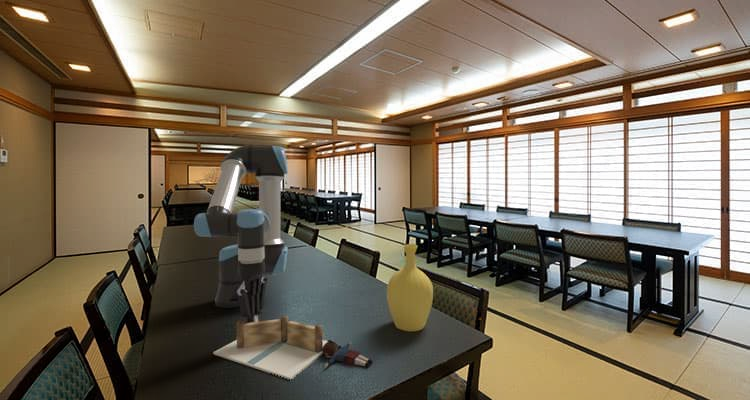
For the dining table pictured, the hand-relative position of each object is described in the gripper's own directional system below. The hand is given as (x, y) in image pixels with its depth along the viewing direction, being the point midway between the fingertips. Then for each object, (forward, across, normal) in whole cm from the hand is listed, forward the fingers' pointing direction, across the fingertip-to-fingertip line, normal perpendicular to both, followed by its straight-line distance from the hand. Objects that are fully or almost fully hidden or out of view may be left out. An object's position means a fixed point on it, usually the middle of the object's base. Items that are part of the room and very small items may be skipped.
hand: (253, 336), depth 100 cm
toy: (+3, +1, +31) cm, 31 cm away
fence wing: (+1, +1, +4) cm, 5 cm away
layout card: (+2, +2, +9) cm, 9 cm away
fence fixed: (+1, -1, +17) cm, 17 cm away
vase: (+3, -26, +44) cm, 51 cm away
